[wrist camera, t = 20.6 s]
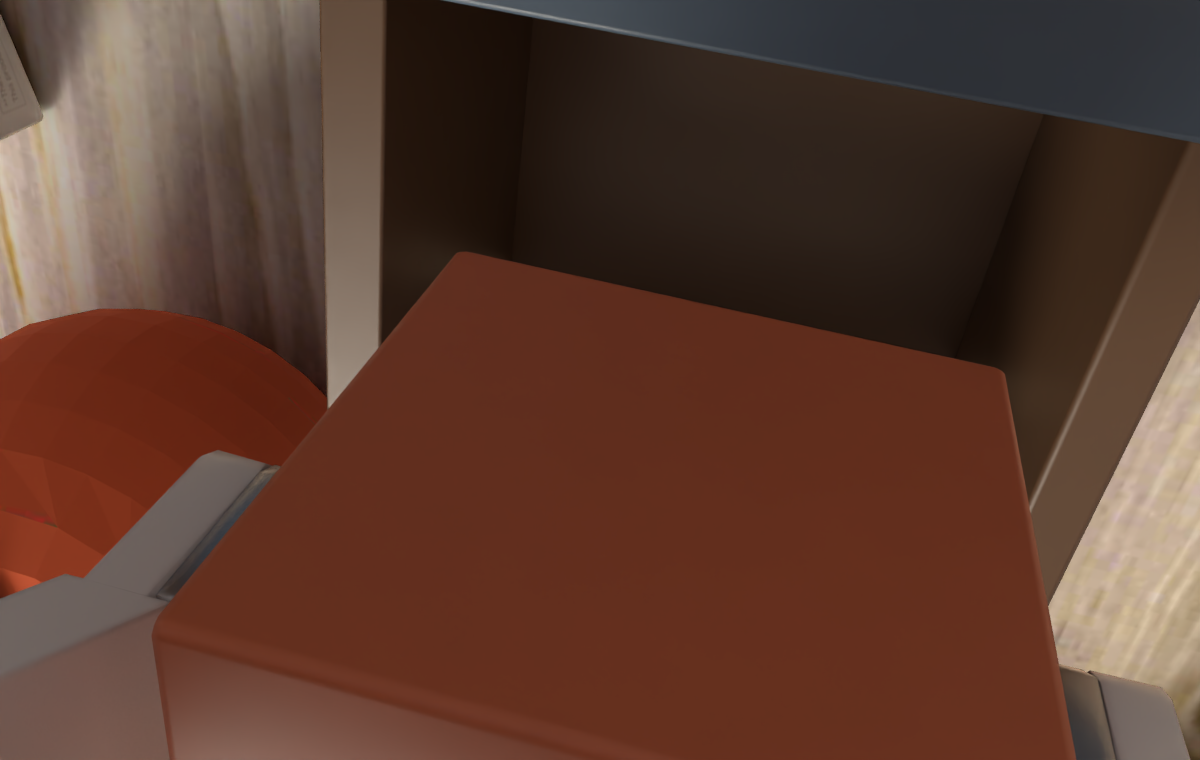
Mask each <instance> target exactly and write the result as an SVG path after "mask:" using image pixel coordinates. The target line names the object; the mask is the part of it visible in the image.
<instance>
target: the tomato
mask: <svg viewBox="0 0 1200 760" xmlns="http://www.w3.org/2000/svg"><path fill="white" fill-rule="evenodd" d="M326 411H327V397H326V396H325V395H324V394H323V393H322V392H321V391H320V390H319V389H318V388H317V387H316V386H315V385H314V384H313V383H312V382H311V381H310V380H309V379H308V378H307V377H306V376H305V375H304V374H303V373H301V372H300V371H299V370H297V369H296V368H295V367H293V366H292V365H291V364H289V363H288V362H287V361H285V360H284V359H283V358H282V357H280V356H279V355H278V354H276V353H275V352H274V351H272V350H270V349H268V348H267V347H265V346H263V345H261V344H259V343H258V342H256V341H254V340H252V339H250V338H249V337H247V336H245V335H243V334H241V333H240V332H237V331H235V330H232V329H229V328H227V327H224V326H221V325H219V324H216V323H213V322H210V321H208V320H205V319H202V318H198V317H192V316H187V315H182V314H177V313H172V312H166V311H156V310H146V309H96V310H92V311H87V312H82V313H78V314H73V315H68V316H64V317H59V318H55V319H50V320H46V321H41V322H37V323H32V324H29V325H27V326H25V327H23V328H21V329H19V330H17V331H15V332H13V333H11V334H9V335H8V336H6V337H4V338H2V339H0V598H3V597H6V596H8V595H11V594H14V593H16V592H19V591H21V590H24V589H27V588H29V587H32V586H35V585H37V584H40V583H42V582H45V581H48V580H50V579H53V578H55V577H58V576H61V575H63V574H68V575H72V576H76V577H80V578H84V577H85V576H86V575H87V574H88V573H89V572H90V571H91V570H92V569H93V568H94V567H95V566H96V565H97V564H98V563H99V561H100V560H101V559H102V558H103V557H104V556H105V555H106V554H107V553H108V552H109V551H110V550H111V549H112V548H113V547H114V546H115V545H116V544H117V543H118V542H119V541H120V540H121V538H122V537H123V536H124V535H125V534H126V533H127V532H128V531H129V530H130V529H131V528H132V527H133V526H134V525H135V524H136V523H137V522H138V521H139V520H140V519H141V518H142V517H143V515H144V514H145V513H146V512H147V511H148V510H149V509H150V508H151V507H152V506H153V505H154V504H155V503H156V502H157V501H158V500H159V499H160V498H161V497H162V496H163V495H164V494H165V492H166V491H167V490H168V489H169V488H170V487H171V486H172V485H173V484H174V483H175V482H176V481H177V480H178V479H179V478H180V477H181V476H182V475H183V474H184V473H185V472H186V471H187V469H188V468H189V467H190V466H191V465H192V464H193V463H194V462H195V461H196V460H197V459H198V458H199V457H201V456H202V455H205V454H208V453H211V452H213V451H216V450H220V451H223V452H227V453H230V454H234V455H238V456H241V457H245V458H248V459H252V460H255V461H259V462H262V463H266V464H269V465H272V466H273V465H278V466H282V465H283V464H284V462H285V461H286V460H287V459H288V457H289V456H290V455H291V454H292V453H293V451H294V450H295V449H296V448H297V446H298V445H299V444H300V443H301V442H302V440H303V439H304V438H305V437H306V436H307V434H308V433H309V432H310V431H311V429H312V428H313V427H314V426H315V425H316V423H317V422H318V421H319V420H320V418H321V417H322V416H323V415H324V414H325V412H326Z"/></svg>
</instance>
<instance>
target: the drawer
mask: <svg viewBox="0 0 1200 760" xmlns="http://www.w3.org/2000/svg"><path fill="white" fill-rule="evenodd" d="M320 52H321V106H322V160H323V214H324V268H325V322H326V376H327V410H328V409H329V408H330V406H331V405H332V404H333V403H334V401H335V400H336V399H337V398H338V397H339V395H340V394H341V393H342V392H343V390H344V389H345V388H346V387H347V386H348V384H349V383H350V382H351V381H352V380H353V378H354V377H355V376H356V375H357V373H358V372H359V371H360V370H361V369H362V367H363V366H364V365H365V364H366V362H367V361H368V360H369V359H370V358H371V356H372V355H373V354H374V353H375V352H376V350H377V349H378V348H379V347H380V345H381V344H382V343H383V342H384V341H385V339H386V338H387V337H388V336H389V335H390V333H391V332H392V331H393V330H394V328H395V327H396V326H397V325H398V324H399V322H400V321H401V320H402V319H403V317H404V316H405V315H406V314H407V313H408V311H409V310H410V309H411V308H412V307H413V305H414V304H415V303H416V302H417V300H418V299H419V298H420V297H421V296H422V294H423V293H424V292H425V291H426V289H427V288H428V287H429V286H430V285H431V283H432V282H433V281H434V280H435V279H436V277H437V276H438V275H439V274H440V272H441V271H442V270H443V269H444V268H445V266H446V265H447V264H448V263H449V261H450V260H451V259H452V258H453V257H454V255H455V254H456V253H458V252H466V251H467V252H471V253H476V254H481V255H485V256H490V257H494V258H499V259H503V260H508V261H512V262H517V263H522V264H526V265H531V266H535V267H540V268H544V269H549V270H553V271H558V272H563V273H567V274H572V275H576V276H581V277H585V278H590V279H594V280H599V281H604V282H608V283H613V284H617V285H622V286H626V287H631V288H635V289H640V290H645V291H649V292H654V293H658V294H663V295H667V296H672V297H676V298H681V299H686V300H690V301H695V302H699V303H704V304H708V305H713V306H717V307H722V308H727V309H731V310H736V311H740V312H745V313H749V314H754V315H758V316H763V317H768V318H772V319H777V320H781V321H786V322H790V323H795V324H799V325H804V326H808V327H813V328H818V329H822V330H827V331H831V332H836V333H840V334H845V335H849V336H854V337H859V338H863V339H868V340H872V341H877V342H881V343H886V344H890V345H895V346H900V347H904V348H909V349H913V350H918V351H922V352H927V353H931V354H936V355H941V356H945V357H950V358H954V359H959V360H963V361H968V362H972V363H977V364H982V365H986V366H991V367H995V368H997V369H999V370H1001V371H1002V372H1003V373H1005V377H1006V383H1007V388H1008V394H1009V399H1010V404H1011V410H1012V415H1013V421H1014V426H1015V431H1016V437H1017V442H1018V448H1019V453H1020V458H1021V464H1022V469H1023V475H1024V480H1025V485H1026V491H1027V496H1028V502H1029V507H1030V512H1031V518H1032V523H1033V528H1034V534H1035V539H1036V545H1037V550H1038V555H1039V561H1040V566H1041V572H1042V577H1043V582H1044V588H1045V593H1046V599H1047V604H1048V605H1049V603H1050V601H1051V599H1052V597H1053V595H1054V593H1055V591H1056V589H1057V587H1058V585H1059V583H1060V581H1061V579H1062V577H1063V575H1064V573H1065V571H1066V569H1067V567H1068V565H1069V563H1070V561H1071V559H1072V557H1073V555H1074V553H1075V551H1076V549H1077V547H1078V544H1079V542H1080V540H1081V538H1082V536H1083V534H1084V532H1085V530H1086V528H1087V526H1088V524H1089V522H1090V520H1091V518H1092V516H1093V514H1094V512H1095V510H1096V508H1097V506H1098V504H1099V502H1100V500H1101V498H1102V496H1103V494H1104V492H1105V490H1106V488H1107V486H1108V484H1109V482H1110V480H1111V478H1112V476H1113V474H1114V472H1115V470H1116V468H1117V466H1118V464H1119V461H1120V459H1121V457H1122V455H1123V453H1124V451H1125V449H1126V447H1127V445H1128V443H1129V441H1130V439H1131V437H1132V435H1133V433H1134V431H1135V429H1136V427H1137V425H1138V423H1139V421H1140V419H1141V417H1142V415H1143V413H1144V411H1145V409H1146V407H1147V405H1148V403H1149V401H1150V399H1151V397H1152V395H1153V393H1154V391H1155V389H1156V387H1157V385H1158V383H1159V380H1160V378H1161V376H1162V374H1163V372H1164V370H1165V368H1166V366H1167V364H1168V362H1169V360H1170V358H1171V356H1172V354H1173V352H1174V350H1175V348H1176V346H1177V344H1178V342H1179V340H1180V338H1181V336H1182V334H1183V332H1184V330H1185V328H1186V326H1187V324H1188V322H1189V320H1190V318H1191V316H1192V314H1193V312H1194V310H1195V308H1196V306H1197V304H1198V302H1199V300H1200V144H1199V143H1194V142H1189V141H1183V140H1178V139H1173V138H1167V137H1162V136H1157V135H1152V134H1146V133H1141V132H1136V131H1130V130H1125V129H1120V128H1115V127H1109V126H1104V125H1099V124H1093V123H1088V122H1083V121H1078V120H1072V119H1067V118H1062V117H1056V116H1051V115H1046V114H1041V113H1035V112H1030V111H1025V110H1019V109H1014V108H1009V107H1004V106H998V105H993V104H988V103H982V102H977V101H972V100H966V99H961V98H956V97H951V96H945V95H940V94H935V93H929V92H924V91H919V90H914V89H908V88H903V87H898V86H892V85H887V84H882V83H877V82H871V81H866V80H861V79H855V78H850V77H845V76H840V75H834V74H829V73H824V72H818V71H813V70H808V69H803V68H797V67H792V66H787V65H781V64H776V63H771V62H766V61H760V60H755V59H750V58H744V57H739V56H734V55H728V54H723V53H718V52H713V51H707V50H702V49H697V48H691V47H686V46H681V45H676V44H670V43H665V42H660V41H654V40H649V39H644V38H639V37H633V36H628V35H623V34H617V33H612V32H607V31H602V30H596V29H591V28H586V27H580V26H575V25H570V24H565V23H559V22H554V21H549V20H543V19H538V18H533V17H528V16H522V15H517V14H512V13H506V12H501V11H496V10H490V9H485V8H480V7H475V6H469V5H464V4H459V3H453V2H448V1H443V0H320Z"/></svg>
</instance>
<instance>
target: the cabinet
mask: <svg viewBox="0 0 1200 760" xmlns="http://www.w3.org/2000/svg"><path fill="white" fill-rule="evenodd" d="M443 1H448V2H453V3H459V4H464V5H469V6H475V7H480V8H485V9H490V10H496V11H501V12H506V13H512V14H517V15H522V16H528V17H533V18H538V19H543V20H549V21H554V22H559V23H565V24H570V25H575V26H580V27H586V28H591V29H596V30H602V31H607V32H612V33H617V34H623V35H628V36H633V37H639V38H644V39H649V40H654V41H660V42H665V43H670V44H676V45H681V46H686V47H691V48H697V49H702V50H707V51H713V52H718V53H723V54H728V55H734V56H739V57H744V58H750V59H755V60H760V61H766V62H771V63H776V64H781V65H787V66H792V67H797V68H803V69H808V70H813V71H818V72H824V73H829V74H834V75H840V76H845V77H850V78H855V79H861V80H866V81H871V82H877V83H882V84H887V85H892V86H898V87H903V88H908V89H914V90H919V91H924V92H929V93H935V94H940V95H945V96H951V97H956V98H961V99H966V100H972V101H977V102H982V103H988V104H993V105H998V106H1004V107H1009V108H1014V109H1019V110H1025V111H1030V112H1035V113H1041V114H1046V115H1051V116H1056V117H1062V118H1067V119H1072V120H1078V121H1083V122H1088V123H1093V124H1099V125H1104V126H1109V127H1115V128H1120V129H1125V130H1130V131H1136V132H1141V133H1146V134H1152V135H1157V136H1162V137H1167V138H1173V139H1178V140H1183V141H1189V142H1194V143H1199V144H1200V0H443Z"/></svg>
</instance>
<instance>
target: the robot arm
mask: <svg viewBox="0 0 1200 760" xmlns="http://www.w3.org/2000/svg"><path fill="white" fill-rule="evenodd" d="M280 467H281V466H278V465H273V466H272V465H269V464H266V463H262V462H259V461H255V460H252V459H248V458H245V457H241V456H238V455H234V454H230V453H227V452H223V451H220V450H216V451H213V452H211V453H208V454H205V455H202V456H201V457H199V458H198V459H197V460H196V461H195V462H194V463H193V464H192V465H191V466H190V467H189V468H188V469H187V471H186V472H185V473H184V474H183V475H182V476H181V477H180V478H179V479H178V480H177V481H176V482H175V483H174V484H173V485H172V486H171V487H170V488H169V489H168V490H167V491H166V492H165V494H164V495H163V496H162V497H161V498H160V499H159V500H158V501H157V502H156V503H155V504H154V505H153V506H152V507H151V508H150V509H149V510H148V511H147V512H146V513H145V514H144V515H143V517H142V518H141V519H140V520H139V521H138V522H137V523H136V524H135V525H134V526H133V527H132V528H131V529H130V530H129V531H128V532H127V533H126V534H125V535H124V536H123V537H122V538H121V540H120V541H119V542H118V543H117V544H116V545H115V546H114V547H113V548H112V549H111V550H110V551H109V552H108V553H107V554H106V555H105V556H104V557H103V558H102V559H101V560H100V561H99V563H98V564H97V565H96V566H95V567H94V568H93V569H92V570H91V571H90V572H89V573H88V574H87V575H86V576H85V577H84V578H80V577H76V576H72V575H68V574H63V575H61V576H58V577H55V578H53V579H50V580H48V581H45V582H42V583H40V584H37V585H35V586H32V587H29V588H27V589H24V590H21V591H19V592H16V593H14V594H11V595H8V596H6V597H3V598H0V760H170V758H169V751H168V744H167V738H166V731H165V724H164V717H163V711H162V704H161V697H160V690H159V684H158V677H157V670H156V663H155V656H154V650H153V643H152V636H151V635H152V631H153V627H154V624H155V622H156V619H157V617H158V616H159V614H160V613H161V612H162V611H163V610H164V608H165V607H166V606H167V605H168V604H169V602H170V601H171V600H172V599H173V597H174V596H175V595H176V594H177V593H178V591H179V590H180V589H181V588H182V586H183V585H184V584H185V583H186V582H187V580H188V579H189V578H190V577H191V576H192V574H193V573H194V572H195V571H196V569H197V568H198V567H199V566H200V565H201V563H202V562H203V561H204V560H205V558H206V557H207V556H208V555H209V554H210V552H211V551H212V550H213V549H214V548H215V546H216V545H217V544H218V543H219V541H220V540H221V539H222V538H223V537H224V535H225V534H226V533H227V532H228V530H229V529H230V528H231V527H232V526H233V524H234V523H235V522H236V521H237V520H238V518H239V517H240V516H241V515H242V513H243V512H244V511H245V510H246V509H247V507H248V506H249V505H250V504H251V502H252V501H253V500H254V499H255V498H256V496H257V495H258V494H259V493H260V492H261V490H262V489H263V488H264V487H265V485H266V484H267V483H268V482H269V481H270V479H271V478H272V477H273V476H274V474H275V473H276V472H277V471H278V470H279V468H280ZM1059 669H1060V674H1061V679H1062V685H1063V690H1064V696H1065V701H1066V706H1067V712H1068V717H1069V723H1070V728H1071V733H1072V739H1073V744H1074V750H1075V755H1076V760H1190V757H1189V753H1188V750H1187V747H1186V744H1185V740H1184V737H1183V734H1182V731H1181V727H1180V724H1179V721H1178V718H1177V714H1176V711H1175V708H1174V704H1173V701H1172V699H1171V698H1170V697H1169V696H1168V694H1167V693H1166V692H1165V691H1164V690H1163V689H1162V688H1161V687H1158V686H1153V685H1149V684H1145V683H1141V682H1136V681H1132V680H1128V679H1124V678H1119V677H1115V676H1111V675H1107V674H1102V673H1098V672H1094V671H1089V672H1085V671H1083V670H1081V669H1077V668H1073V667H1069V666H1065V665H1061V664H1059Z"/></svg>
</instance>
